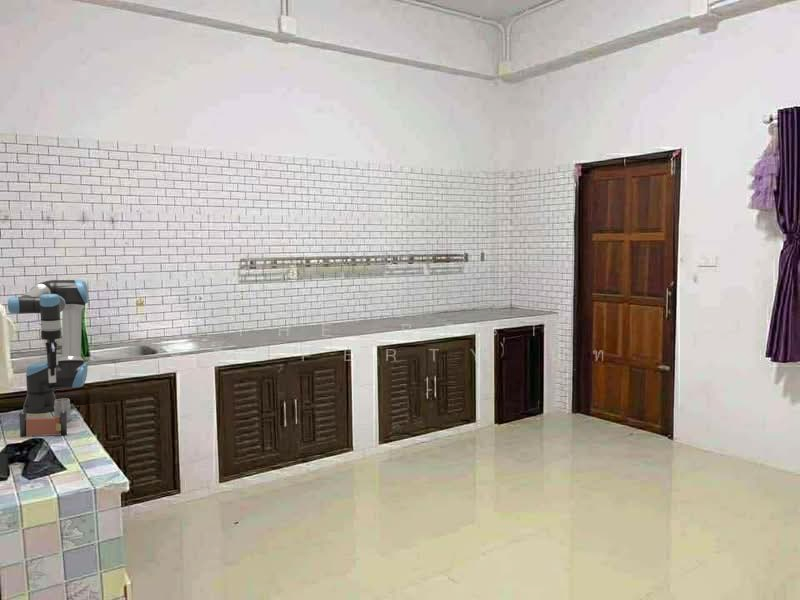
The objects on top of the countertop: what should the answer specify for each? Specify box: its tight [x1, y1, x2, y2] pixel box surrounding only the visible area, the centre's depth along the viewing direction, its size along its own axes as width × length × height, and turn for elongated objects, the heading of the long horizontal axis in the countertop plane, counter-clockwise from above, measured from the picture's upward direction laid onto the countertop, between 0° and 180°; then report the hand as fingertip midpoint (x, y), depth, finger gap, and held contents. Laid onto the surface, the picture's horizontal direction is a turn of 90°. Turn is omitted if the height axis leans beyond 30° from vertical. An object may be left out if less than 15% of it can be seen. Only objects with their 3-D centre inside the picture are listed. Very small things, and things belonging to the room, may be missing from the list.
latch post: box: [56, 411, 68, 437], centre depth 283 cm, size 4×4×11 cm
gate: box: [26, 416, 61, 436], centre depth 282 cm, size 13×2×8 cm, turn 100°
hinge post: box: [18, 411, 28, 438], centre depth 280 cm, size 3×3×11 cm
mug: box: [52, 397, 73, 423], centre depth 303 cm, size 8×12×12 cm, turn 29°
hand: (52, 382), depth 289 cm, fingers closed
